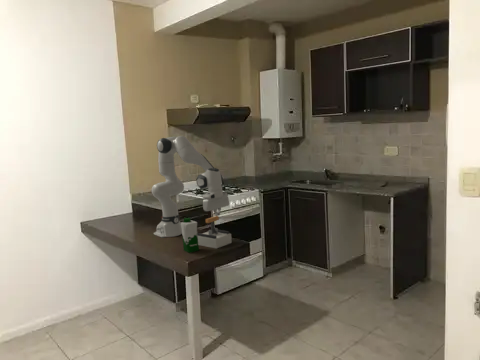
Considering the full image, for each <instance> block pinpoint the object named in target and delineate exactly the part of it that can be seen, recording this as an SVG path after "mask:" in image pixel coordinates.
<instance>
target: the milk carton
mask: <svg viewBox="0 0 480 360" xmlns="http://www.w3.org/2000/svg"><path fill="white" fill-rule="evenodd" d="M180 223H181V228H182V234H181V235H182V245H183V251H184V252H186V253H189V254H191V253H195V252H197V251H200V245H198V235H197V233H198V222H197V221H195V220H191V218H190V217H184V218H183V221H182V222H181V221H180Z"/></svg>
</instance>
